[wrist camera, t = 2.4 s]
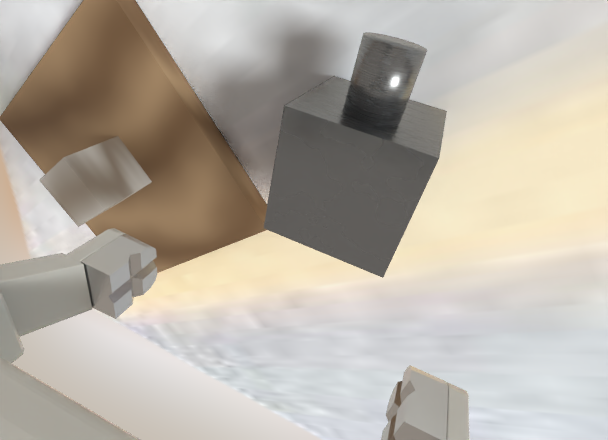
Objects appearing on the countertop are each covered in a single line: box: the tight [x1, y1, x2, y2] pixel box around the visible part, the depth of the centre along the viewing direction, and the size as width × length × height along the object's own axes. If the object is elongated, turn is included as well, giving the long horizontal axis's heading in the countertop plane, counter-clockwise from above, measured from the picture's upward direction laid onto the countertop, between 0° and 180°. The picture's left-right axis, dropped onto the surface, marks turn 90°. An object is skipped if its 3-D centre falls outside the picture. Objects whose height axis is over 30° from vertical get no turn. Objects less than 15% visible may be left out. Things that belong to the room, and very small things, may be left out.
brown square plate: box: [0, 0, 267, 273], centre depth 27 cm, size 18×18×6 cm
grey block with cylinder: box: [264, 33, 447, 277], centre depth 18 cm, size 6×9×7 cm
